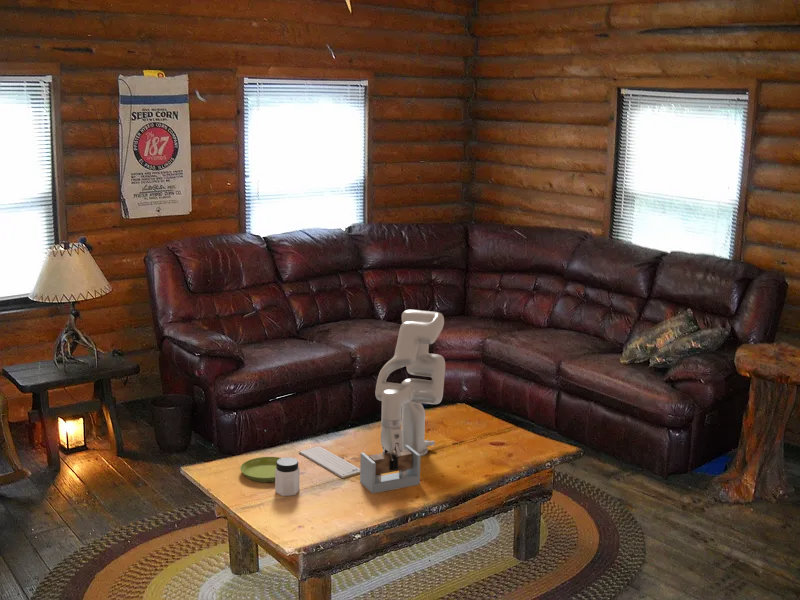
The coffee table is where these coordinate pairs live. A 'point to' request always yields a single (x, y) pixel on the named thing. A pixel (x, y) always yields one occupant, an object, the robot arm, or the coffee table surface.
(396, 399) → the robot arm
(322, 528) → the coffee table surface
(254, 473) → the saucer
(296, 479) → the jar
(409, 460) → the shelf board
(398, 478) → the peg frame
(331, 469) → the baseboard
